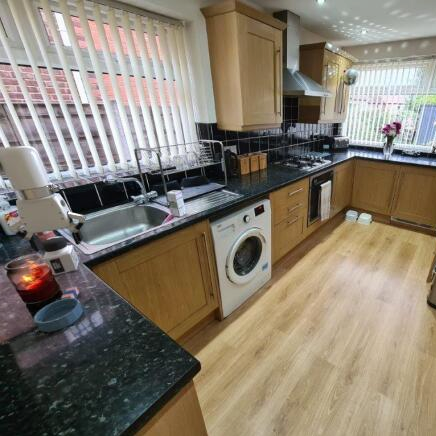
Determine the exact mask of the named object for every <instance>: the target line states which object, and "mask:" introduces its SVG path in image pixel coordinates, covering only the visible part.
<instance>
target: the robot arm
mask: <svg viewBox="0 0 436 436" xmlns="http://www.w3.org/2000/svg"><path fill="white" fill-rule="evenodd" d="M2 175H6V178H7V179H8V181H9V184H10V185H11V188H12V190H13V192H14V193H15V195H16V198H17V199H16V200H15V203H16V209H17V213H18V216H19V219H20V220H18V221H17V222H14V223H13V224H12V225H10V226H9V227H8V230H10V231H11V232H13V233H14V234H15V235H16V236H17V237H21V238H23V239H24V240H25V241H28V243H29V244H30V247H31V248H32V249H33V250H34V252H36V253H37V252H40V251H41V250H43V245H42V242H41V241H40V239H39V237H38V236H37V235H35V234H36V233H39V232H46V231H59V230H65V229H66V230H68V231H70V232H72V233H71V236H72V238H73V241H74V243H75V245H78V246H79V245H81V243H82V241H83V240H84V237H83V235H82V231H81V229H82V227H83V226H84V225H85V223H86V219H87V216H86V215H84V214H80V213H76V212H72V211H71V209H70V207H69V206H68V204H67V202H66V201H65V199H64V198H63V197H62V195H61V194H60V193H57V192H60V191H61V188H60V186H57V185H54V184H53V183H52V182H51V179H50V177H49V175H48V172H47V171H46V168H45V165H44V163H43V161H42V159H41V156H40V154H39V152H38V150H37V149H36V148H35V147H33V146H28V145H19V146H7V147H0V176H2ZM75 220H78V223H75ZM21 226H23V228H24V229H22V228H21Z"/></svg>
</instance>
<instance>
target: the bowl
mask: <svg viewBox="0 0 436 436" xmlns="http://www.w3.org/2000/svg"><path fill="white" fill-rule="evenodd" d="M83 312H84V309H83V306H82V304H81V301H80V300H79V299H78V298H66V299H62V300H61V299H59V300H55V301H53V302H51V303H49V304H47V305H45V306H44V307H42V308H40V309H39V310H38V311H37V312H36V313H35V315H34V316H33V322H34V323H35V326H36V327H37V329H38V330H39V331H40V332H41V333H42V332H43V333H53V332H56V331H60V330H63V329H65V328H67V327H69V326H71V325H73V324H74V323H75V322H76V321H77V320H78V319H80V317H81V316H82V314H83Z"/></svg>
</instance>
